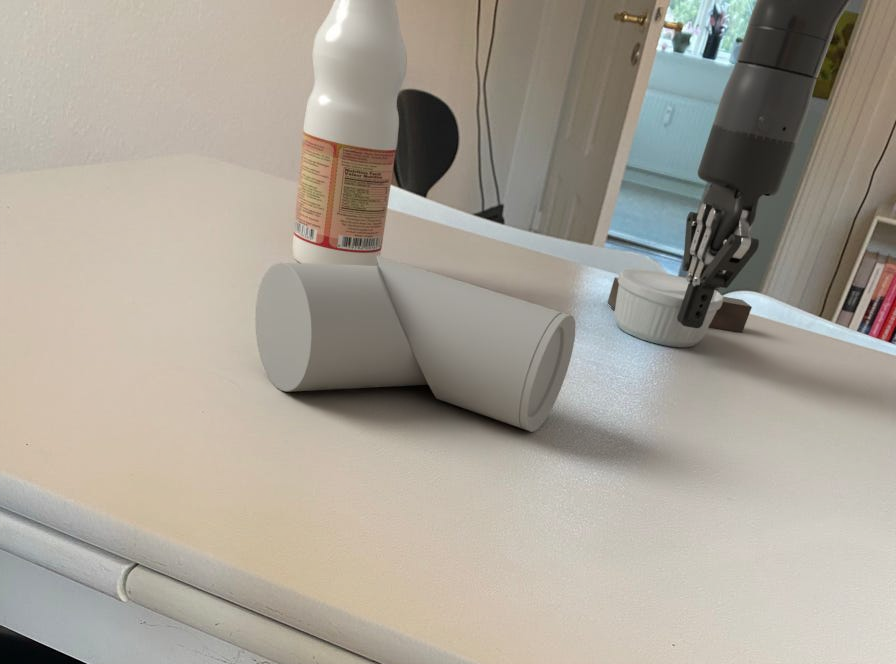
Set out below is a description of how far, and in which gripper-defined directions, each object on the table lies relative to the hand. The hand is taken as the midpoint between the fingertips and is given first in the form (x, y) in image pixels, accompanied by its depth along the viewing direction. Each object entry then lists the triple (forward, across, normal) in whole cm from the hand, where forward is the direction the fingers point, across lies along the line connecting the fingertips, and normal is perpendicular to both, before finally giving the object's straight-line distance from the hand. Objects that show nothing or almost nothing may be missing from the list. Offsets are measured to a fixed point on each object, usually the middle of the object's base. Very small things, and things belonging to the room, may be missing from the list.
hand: (688, 324), depth 90 cm
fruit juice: (+3, +14, +35) cm, 38 cm away
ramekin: (+3, +8, 0) cm, 8 cm away
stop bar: (+3, +16, -5) cm, 17 cm away
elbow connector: (+4, -24, +29) cm, 38 cm away
